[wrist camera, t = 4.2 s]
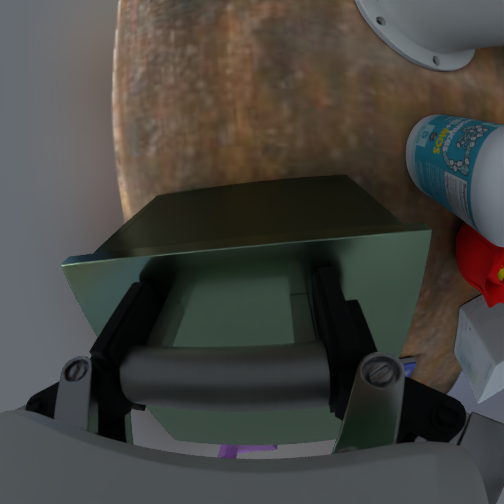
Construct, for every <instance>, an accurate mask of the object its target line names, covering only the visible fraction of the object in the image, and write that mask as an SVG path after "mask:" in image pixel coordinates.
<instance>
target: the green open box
mask: <svg viewBox="0 0 504 504" xmlns="http://www.w3.org/2000/svg"><path fill="white" fill-rule="evenodd" d="M391 224H403V223H402V222H401V221H399V220H398V219H397V218H396V217H395V216H394V215H393V214H392V213H391V212H390V211H389V210H387V209H386V208H385V207H384V206H383V205H382V204H381V203H379V202H378V201H377V200H376V199H375V198H374V197H373V196H371V195H370V194H369V193H368V192H367V191H365V190H364V189H363V188H362V187H361V186H359V185H358V184H357V183H356V182H354V181H353V180H352V179H351V178H349V176H347V175H335V176H318V177H304V178H291V179H280V180H270V181H260V182H251V183H242V184H234V185H226V186H219V187H211V188H204V189H198V190H191V191H185V192H179V193H173V194H167V195H161V196H156V197H155V198H154V199H153V200H152V201H151V202H149V203H148V204H147V205H146V206H145V207H143V208H142V209H141V210H140V211H139V212H138V213H136V214H135V215H134V216H133V217H132V218H131V219H130V220H128V221H127V222H126V223H125V224H124V225H123V226H122V227H121V228H120V229H118V231H116V232H115V233H114V234H113V235H112V236H111V237H110V238H109V239H108V240H107V241H106V242H105V243H103V244H102V245H101V246H100V247H99V248H98V249H97V250H96V251H95V252H94V253H93V254H95V253H103V252H111V251H120V250H128V249H137V248H145V247H154V246H163V245H172V244H182V243H191V242H201V241H210V240H220V239H230V238H240V237H250V236H261V235H271V234H282V233H293V232H304V231H316V230H328V229H340V228H352V227H365V226H378V225H391Z"/></svg>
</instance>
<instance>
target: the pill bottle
mask: <svg viewBox="0 0 504 504" xmlns="http://www.w3.org/2000/svg"><path fill="white" fill-rule="evenodd" d="M406 164H407V169H408V172H409V174H410V177H411V179H412V181H413V182H414V184H415V185H416V186H417V187H418V188H419V189H420V190H421V191H422V192H423V193H424V194H426V195H427V196H429V197H430V198H432V199H433V200H435V201H436V202H438V203H439V204H441V205H442V206H444V207H445V208H446V209H448V210H449V211H451V212H452V213H454V214H455V215H456V216H458V217H459V218H460V219H462V220H463V221H465V222H466V223H467V224H468V225H470V226H471V227H472V228H474V229H475V230H476V231H477V232H479V233H480V234H481V235H482V236H484V237H485V238H486V239H487V240H489V241H490V242H491V243H493V244H495V245H497V246H500V247H504V125H501V124H496V123H491V122H486V121H481V120H475V119H469V118H463V117H456V116H449V115H439V114H436V115H430V116H427V117H425V118H423V119H422V120H420V121H419V122H418V123H417V124H416V125H415V126H414V128H413V129H412V131H411V133H410V135H409V137H408V140H407V144H406Z"/></svg>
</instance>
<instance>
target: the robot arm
mask: <svg viewBox="0 0 504 504" xmlns="http://www.w3.org/2000/svg"><path fill="white" fill-rule="evenodd" d="M355 3H356V5H357V7H358V9H359V11H360V13H361V14H362V16H363V17H364V19H365V20H366V22H367V23H368V25H369V26H370V27H371V28H372V29H373V31H374V32H375V33H376V34H377V35H378V36H379V37H380V38H381V39H382V40H383V41H384V42H385V43H386V44H387V45H388V46H389V47H391V48H392V49H393V50H394V51H396V52H397V53H398V54H399V55H401V56H403V57H404V58H406V59H407V60H409V61H411V62H412V63H415V64H417V65H419V66H421V67H423V68H427V69H430V70H434V71H453V70H457V69H460V68H463V67H464V66H465V65H467V64H468V63H469V62H470V60H471V59H472V58H473V55H474V53H475V49H479V48H486V47H495V46H504V0H355ZM377 22H378V23H379V24H380V25H379V24H378V23H377ZM160 311H161V307H160V304H159V301H158V299H157V296H156V294H155V291H154V288H153V286H152V285H149V283H148V282H134V283H133V284H132V285H131V286H130V288H129V289H128V291H127V292H126V294H125V295H124V297H123V298H122V300H121V301H120V303H119V304H118V306H117V307H116V309H115V311H114V312H113V314H112V315H111V317H110V318H109V320H108V322H107V323H106V325H105V326H104V328H103V330H102V331H101V333H100V335H99V336H98V338H97V340H96V342H95V343H94V345H93V347H92V348H91V350H90V353H91V355H92V356H91V358H90V359H89V358H88V357H85V356H78V357H75V358H73V359H71V360H70V361H68V362H67V363H66V364H65V366H64V367H63V369H62V372H61V377H60V381H59V382H57V383H56V384H54V385H52V386H50V387H48V388H46V389H44V390H42V391H40V392H39V393H37V394H35V395H33V396H32V397H31V398H30V399H29V401H28V402H27V405H26V406H25V405H24V406H22V407H20V408H18V409H16V410H11V411H5V412H2V413H0V504H496V502H497V500H498V498H499V496H500V494H501V491H502V489H503V487H504V424H503V423H500V422H498V421H495V420H493V419H490V418H487V417H485V416H482V415H480V414H478V413H475V412H472V413H471V414H469V413H466V411H465V408H464V406H463V405H462V404H461V402H460V401H458V400H456V399H455V398H453V397H451V396H448V395H446V394H444V393H442V392H439V391H437V390H435V389H433V388H430V387H428V386H426V385H424V384H422V383H419V382H417V381H415V380H413V379H411V378H409V377H406V376H405V367H404V365H403V363H402V361H401V360H400V359H399V358H398V357H396V356H394V355H393V354H390V353H386V352H378V351H377V348H376V345H375V342H374V340H373V337H372V334H371V332H370V329H369V326H368V324H367V321H366V319H365V316H364V314H363V311H362V309H361V306H360V304H359V302H358V300H357V299H354V300H345V297H344V294H343V291H342V289H341V286H340V283H339V281H338V278H337V275H336V273H335V270H334V268H333V267H325V268H318V272H314V273H313V321H314V326H315V332H316V337H317V340H323V341H325V343H326V346H327V350H328V355H329V361H330V368H331V399H330V403H329V407H330V413H335V417H337V418H338V419H340V420H342V423H341V427H340V430H339V433H338V436H337V439H336V442H335V445H334V448H333V451H332V454H330V455H322V456H312V457H299V458H283V459H232V458H216V457H204V456H194V455H186V454H179V453H173V452H166V451H161V450H156V449H150V448H146V447H141V446H136V445H133V437H132V425H131V414H130V411H131V409H136V410H142V411H144V410H145V408H146V405H143V404H137V403H133V402H131V401H129V400H128V399H127V398H126V397H125V395H124V393H123V391H122V389H121V386H120V381H119V366H120V361H121V358H122V356H123V354H124V352H125V351H126V349H127V348H129V347H130V346H133V345H143V346H145V344H146V342H147V339H148V337H149V335H150V333H151V330H152V328H153V326H154V324H155V322H156V320H157V317H158V315H159V313H160Z"/></svg>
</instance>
